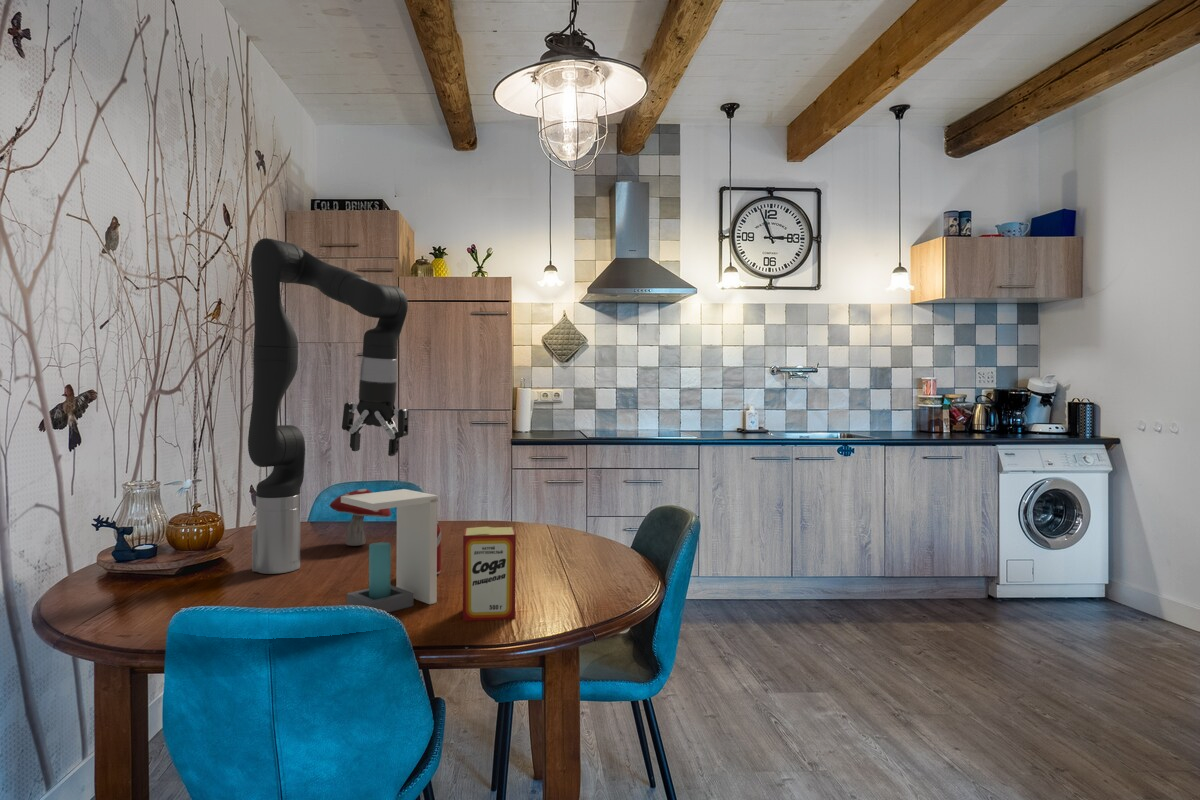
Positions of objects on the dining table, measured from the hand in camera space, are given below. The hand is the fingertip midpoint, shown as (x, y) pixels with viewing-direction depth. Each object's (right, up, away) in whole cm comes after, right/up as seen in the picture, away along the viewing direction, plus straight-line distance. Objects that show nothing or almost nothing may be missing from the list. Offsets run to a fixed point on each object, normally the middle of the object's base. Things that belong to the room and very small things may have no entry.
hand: (373, 453), depth 150 cm
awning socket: (+8, -28, -14) cm, 33 cm away
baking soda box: (+28, -29, -20) cm, 45 cm away
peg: (+6, -28, -16) cm, 33 cm away
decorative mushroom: (-15, -28, +35) cm, 47 cm away
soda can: (+9, -28, +7) cm, 31 cm away
